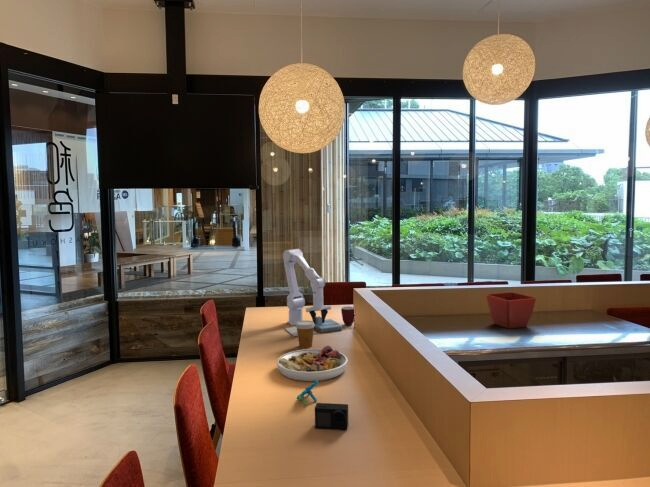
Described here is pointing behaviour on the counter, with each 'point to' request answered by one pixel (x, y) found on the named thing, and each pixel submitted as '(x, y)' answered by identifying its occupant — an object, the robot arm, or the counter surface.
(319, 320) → the lid
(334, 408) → the digital camera
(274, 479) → the counter surface
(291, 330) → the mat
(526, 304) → the plant pot
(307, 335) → the disposable coffee cup
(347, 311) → the mug
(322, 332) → the grey rectangular tray
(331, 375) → the bowl
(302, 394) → the blue green plastic toy
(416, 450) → the counter surface
